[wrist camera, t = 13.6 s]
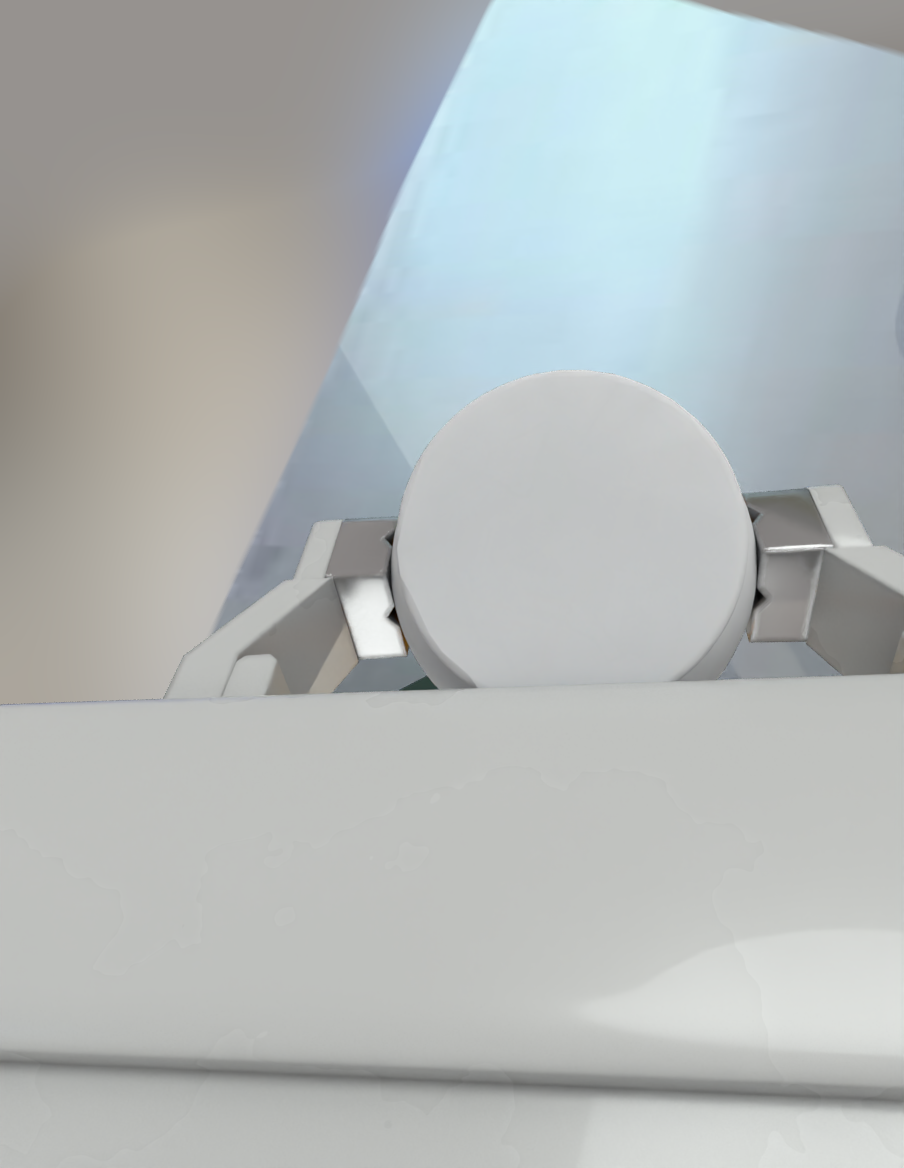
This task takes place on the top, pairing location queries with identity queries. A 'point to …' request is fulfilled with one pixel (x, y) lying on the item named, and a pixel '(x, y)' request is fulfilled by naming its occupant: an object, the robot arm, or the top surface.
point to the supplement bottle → (573, 540)
